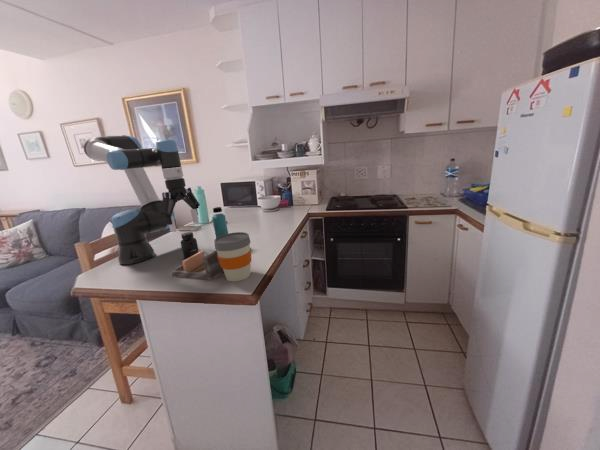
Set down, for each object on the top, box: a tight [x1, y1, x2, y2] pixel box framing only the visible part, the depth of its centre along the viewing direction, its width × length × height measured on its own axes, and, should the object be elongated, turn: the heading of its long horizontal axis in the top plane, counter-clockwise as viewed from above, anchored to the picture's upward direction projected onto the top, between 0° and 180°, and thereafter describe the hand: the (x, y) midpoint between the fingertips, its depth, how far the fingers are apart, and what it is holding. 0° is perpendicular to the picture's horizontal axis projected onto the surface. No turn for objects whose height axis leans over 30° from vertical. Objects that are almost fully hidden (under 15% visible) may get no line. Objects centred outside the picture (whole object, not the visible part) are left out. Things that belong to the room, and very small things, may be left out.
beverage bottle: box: [211, 206, 229, 239], centre depth 130 cm, size 6×7×20 cm
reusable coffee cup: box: [214, 231, 252, 282], centre depth 96 cm, size 13×13×15 cm
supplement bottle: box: [180, 231, 200, 261], centre depth 119 cm, size 7×7×12 cm
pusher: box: [181, 250, 206, 272], centre depth 107 cm, size 1×11×5 cm, turn 160°
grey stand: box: [171, 249, 224, 281], centre depth 105 cm, size 19×14×9 cm
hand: (185, 227), depth 117 cm, fingers open, 13 cm apart
